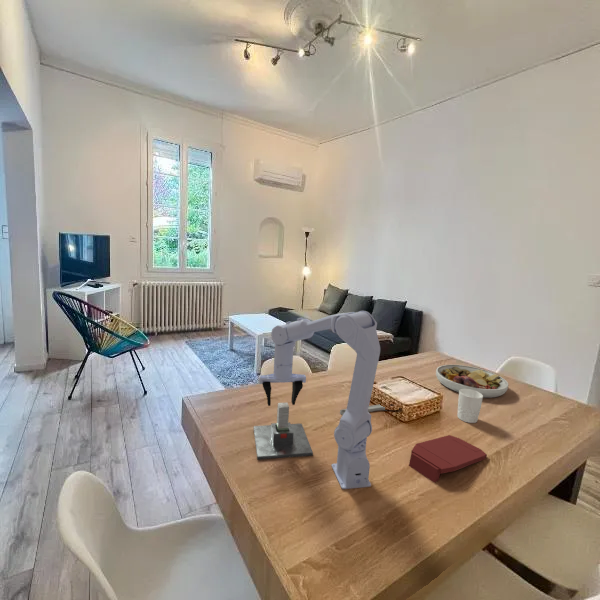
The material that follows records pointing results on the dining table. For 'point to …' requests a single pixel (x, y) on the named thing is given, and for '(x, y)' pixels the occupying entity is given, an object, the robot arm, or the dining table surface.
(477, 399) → the white cup
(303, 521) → the dining table surface
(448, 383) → the bowl
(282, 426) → the post
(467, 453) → the dark red bent panel
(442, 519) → the dining table surface
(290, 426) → the stand
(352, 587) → the dining table surface
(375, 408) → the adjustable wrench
